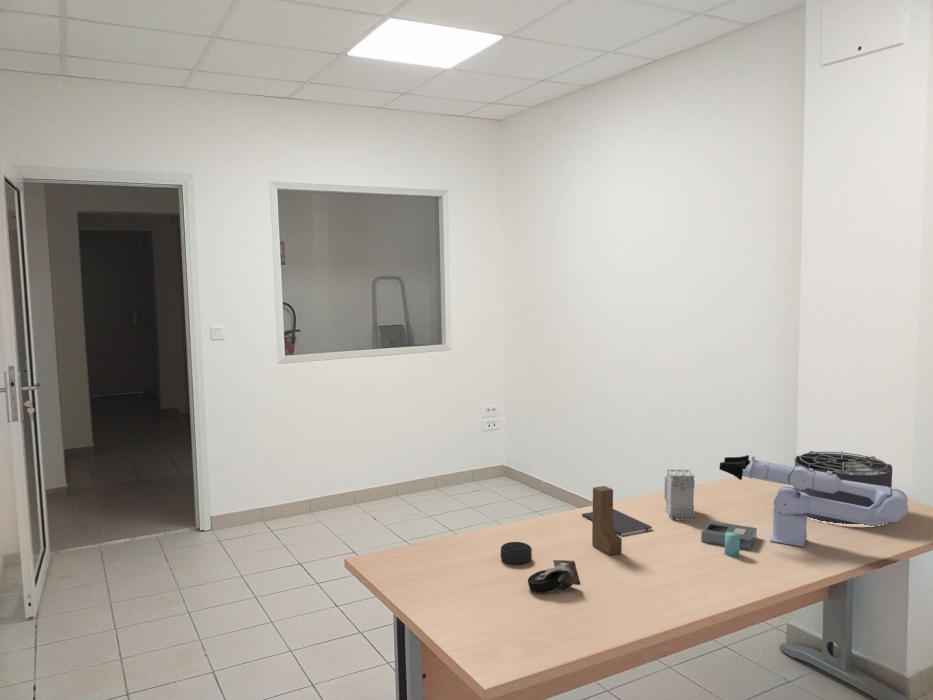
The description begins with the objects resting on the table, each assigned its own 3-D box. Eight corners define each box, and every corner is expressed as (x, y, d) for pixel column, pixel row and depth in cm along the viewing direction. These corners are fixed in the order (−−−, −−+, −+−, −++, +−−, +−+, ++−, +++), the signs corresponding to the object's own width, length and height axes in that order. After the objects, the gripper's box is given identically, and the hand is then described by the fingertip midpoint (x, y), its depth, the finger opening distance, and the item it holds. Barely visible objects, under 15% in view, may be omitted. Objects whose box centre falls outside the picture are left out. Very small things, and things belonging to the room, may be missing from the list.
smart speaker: (534, 555, 214) (534, 542, 213) (528, 567, 205) (528, 553, 205) (504, 552, 216) (504, 539, 216) (497, 564, 208) (497, 550, 207)
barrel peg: (740, 553, 214) (740, 533, 214) (737, 557, 211) (738, 537, 210) (726, 550, 216) (726, 531, 216) (723, 555, 213) (723, 535, 212)
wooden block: (622, 553, 215) (622, 493, 213) (609, 555, 213) (610, 495, 211) (604, 543, 223) (604, 485, 221) (591, 545, 221) (592, 487, 219)
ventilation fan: (897, 475, 229) (792, 465, 242) (894, 533, 230) (790, 520, 243) (890, 454, 255) (795, 446, 268) (887, 506, 257) (793, 495, 270)
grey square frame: (756, 537, 227) (756, 527, 227) (749, 550, 217) (750, 539, 217) (709, 530, 234) (710, 520, 234) (701, 541, 224) (701, 531, 223)
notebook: (581, 518, 248) (620, 538, 229) (581, 513, 248) (620, 533, 229) (612, 512, 254) (653, 531, 234) (612, 508, 253) (653, 527, 234)
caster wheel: (526, 600, 190) (546, 581, 198) (562, 603, 183) (581, 584, 191) (519, 575, 190) (539, 558, 197) (555, 577, 182) (575, 559, 190)
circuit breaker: (685, 507, 258) (686, 465, 256) (693, 520, 244) (694, 476, 242) (663, 506, 258) (664, 464, 257) (670, 519, 244) (671, 475, 243)
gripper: (772, 454, 231) (727, 446, 238) (766, 463, 219) (719, 455, 225) (770, 475, 232) (725, 467, 239) (763, 486, 220) (716, 477, 226)
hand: (722, 463), depth 232 cm, fingers open, 7 cm apart
